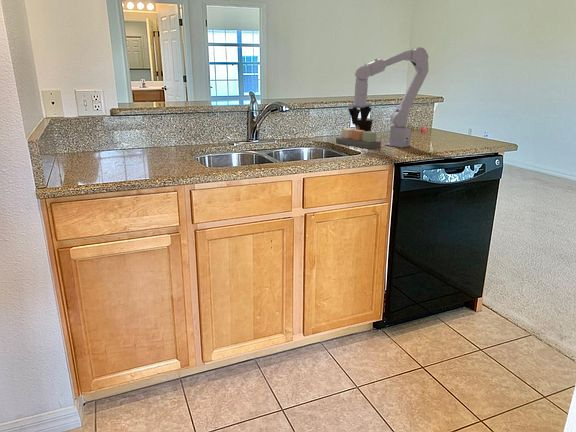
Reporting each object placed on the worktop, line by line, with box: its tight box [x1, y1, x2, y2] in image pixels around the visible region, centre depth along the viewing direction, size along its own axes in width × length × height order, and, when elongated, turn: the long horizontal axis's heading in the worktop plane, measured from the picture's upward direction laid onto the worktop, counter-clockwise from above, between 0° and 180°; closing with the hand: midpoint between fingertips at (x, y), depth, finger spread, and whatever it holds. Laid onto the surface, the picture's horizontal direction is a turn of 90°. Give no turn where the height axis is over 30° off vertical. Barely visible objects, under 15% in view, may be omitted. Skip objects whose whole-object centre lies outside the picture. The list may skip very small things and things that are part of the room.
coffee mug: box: [354, 117, 374, 132], centre depth 226 cm, size 12×9×10 cm
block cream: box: [340, 127, 356, 139], centre depth 214 cm, size 4×4×4 cm
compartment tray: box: [335, 136, 382, 150], centre depth 211 cm, size 20×9×2 cm, turn 42°
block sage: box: [362, 131, 377, 142], centre depth 205 cm, size 4×4×4 cm
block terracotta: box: [352, 129, 365, 140], centre depth 209 cm, size 4×4×4 cm
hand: (359, 123), depth 208 cm, fingers open, 6 cm apart
